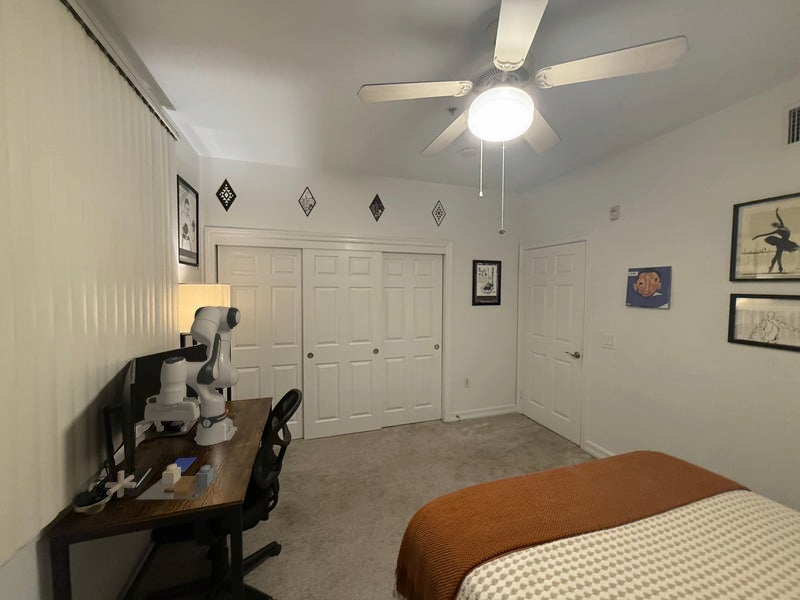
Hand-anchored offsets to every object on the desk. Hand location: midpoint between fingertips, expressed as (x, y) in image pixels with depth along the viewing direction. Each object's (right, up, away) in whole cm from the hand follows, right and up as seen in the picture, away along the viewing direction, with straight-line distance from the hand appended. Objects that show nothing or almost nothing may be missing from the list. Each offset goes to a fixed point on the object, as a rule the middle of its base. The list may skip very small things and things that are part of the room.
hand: (172, 430), depth 127 cm
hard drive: (-5, -22, +12) cm, 25 cm away
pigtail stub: (+7, -21, -7) cm, 23 cm away
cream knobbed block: (0, -20, 0) cm, 20 cm away
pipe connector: (-12, -21, -11) cm, 26 cm away
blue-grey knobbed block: (+14, -21, 0) cm, 25 cm away
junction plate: (+6, -21, -4) cm, 23 cm away
